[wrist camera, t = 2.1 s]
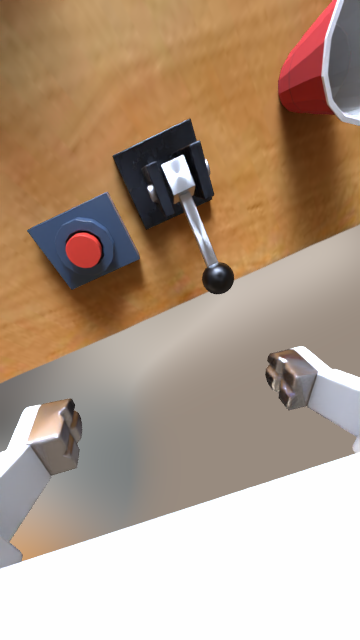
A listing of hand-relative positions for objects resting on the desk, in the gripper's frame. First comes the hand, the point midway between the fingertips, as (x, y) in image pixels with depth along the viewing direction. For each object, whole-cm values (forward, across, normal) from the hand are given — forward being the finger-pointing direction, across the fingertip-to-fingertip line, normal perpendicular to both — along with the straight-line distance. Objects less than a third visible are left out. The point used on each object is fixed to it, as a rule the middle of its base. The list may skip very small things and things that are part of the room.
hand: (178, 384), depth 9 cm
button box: (+29, +6, -1) cm, 30 cm away
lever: (+18, -6, -2) cm, 19 cm away
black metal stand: (+28, -5, -8) cm, 30 cm away
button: (+26, +6, -1) cm, 26 cm away
